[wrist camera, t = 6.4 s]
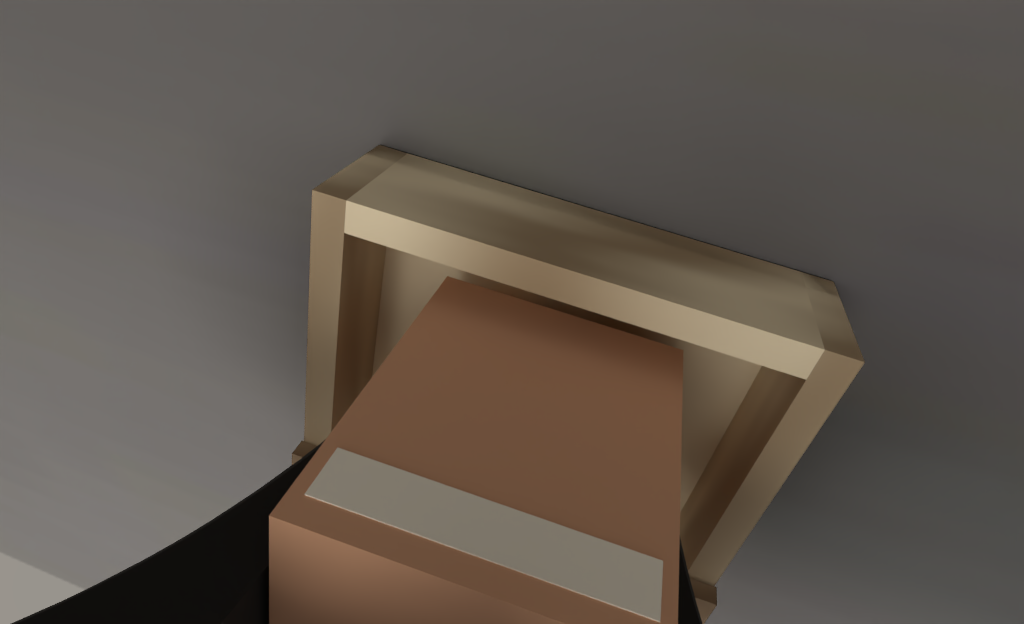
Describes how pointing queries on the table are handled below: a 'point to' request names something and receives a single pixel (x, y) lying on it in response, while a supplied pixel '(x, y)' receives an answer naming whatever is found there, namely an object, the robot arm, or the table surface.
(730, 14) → the table surface
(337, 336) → the light wooden tray
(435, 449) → the brown cardboard box
